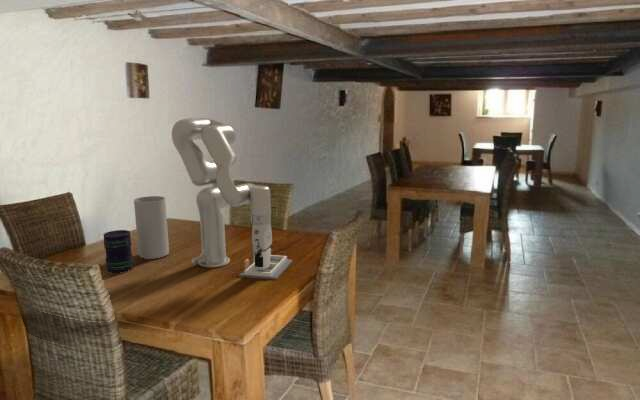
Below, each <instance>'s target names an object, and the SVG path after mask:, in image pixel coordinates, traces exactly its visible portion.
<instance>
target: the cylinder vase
mask: <svg viewBox="0 0 640 400" xmlns="http://www.w3.org/2000/svg"><path fill="white" fill-rule="evenodd" d="M133 204H134V205H133V207H134V216H135V218H134V219H135V227H136V230H135V231H136V238H137V239H136V240H137V241H136V242H137V250H138V256H139V258H140V257H141V259H143V258H144V259H143V260H157V259H156V258H158V259H162V258H165V257H166V255H167V256H168V255H169V253H170V248H169V247H170V246H169V234H168V221H167V220H168V217H167V206H166V197H165V196H159V195H158V196H157V195H149V196H141V197H136V198H135V199H133ZM164 256H165V257H164ZM161 257H162V258H161Z"/></svg>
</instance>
